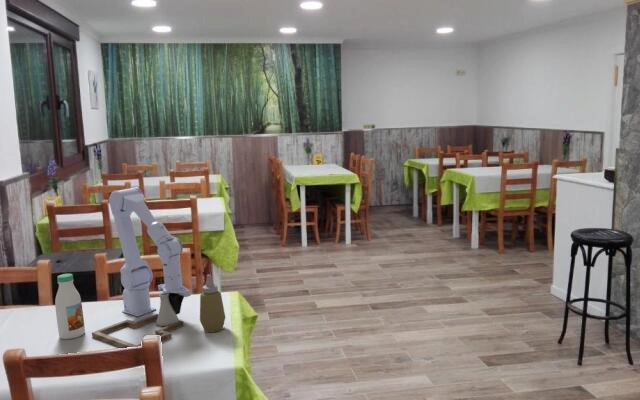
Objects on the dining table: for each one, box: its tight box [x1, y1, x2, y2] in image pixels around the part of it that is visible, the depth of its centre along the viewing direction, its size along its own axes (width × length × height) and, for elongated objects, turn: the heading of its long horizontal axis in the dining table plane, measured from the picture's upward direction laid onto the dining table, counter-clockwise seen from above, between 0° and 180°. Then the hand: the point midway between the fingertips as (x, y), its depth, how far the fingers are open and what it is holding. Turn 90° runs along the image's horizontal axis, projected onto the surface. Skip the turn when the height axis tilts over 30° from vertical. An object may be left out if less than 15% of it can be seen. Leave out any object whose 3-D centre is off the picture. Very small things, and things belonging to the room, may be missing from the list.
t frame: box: [91, 313, 185, 349], centre depth 178 cm, size 23×22×2 cm
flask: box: [155, 292, 179, 327], centre depth 185 cm, size 7×7×10 cm
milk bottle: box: [54, 273, 86, 340], centre depth 178 cm, size 8×8×20 cm
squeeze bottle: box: [199, 274, 226, 333], centre depth 177 cm, size 8×8×18 cm
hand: (176, 313), depth 188 cm, fingers closed, pressing on flask
